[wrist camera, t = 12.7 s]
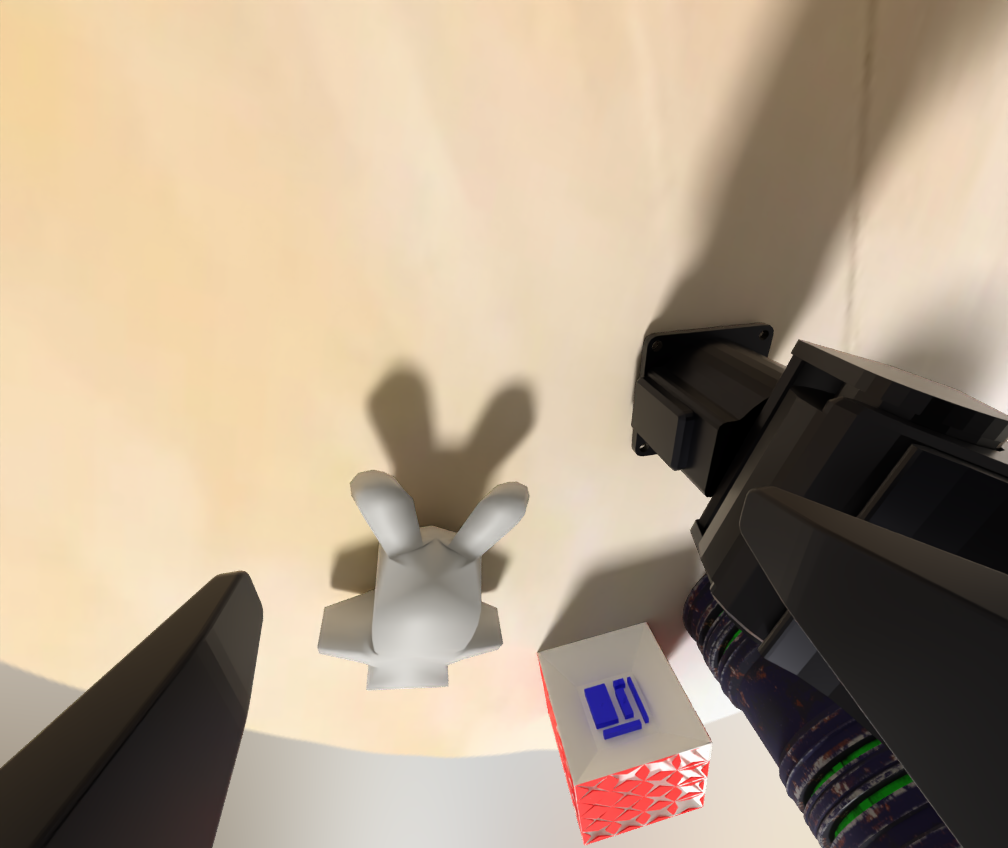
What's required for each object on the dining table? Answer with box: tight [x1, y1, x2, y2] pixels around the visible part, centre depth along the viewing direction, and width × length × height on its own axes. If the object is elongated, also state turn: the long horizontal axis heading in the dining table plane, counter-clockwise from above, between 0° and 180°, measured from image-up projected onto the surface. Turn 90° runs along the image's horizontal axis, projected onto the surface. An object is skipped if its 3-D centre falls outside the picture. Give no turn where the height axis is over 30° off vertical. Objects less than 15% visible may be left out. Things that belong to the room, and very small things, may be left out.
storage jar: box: [683, 574, 962, 848], centre depth 26 cm, size 10×10×15 cm
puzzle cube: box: [537, 622, 712, 845], centre depth 30 cm, size 8×8×8 cm
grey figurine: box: [318, 470, 529, 690], centre depth 23 cm, size 10×5×15 cm
